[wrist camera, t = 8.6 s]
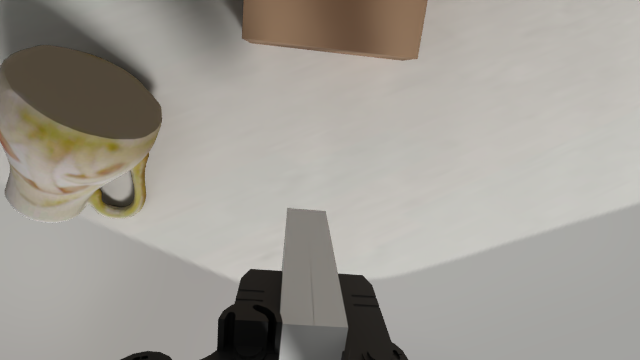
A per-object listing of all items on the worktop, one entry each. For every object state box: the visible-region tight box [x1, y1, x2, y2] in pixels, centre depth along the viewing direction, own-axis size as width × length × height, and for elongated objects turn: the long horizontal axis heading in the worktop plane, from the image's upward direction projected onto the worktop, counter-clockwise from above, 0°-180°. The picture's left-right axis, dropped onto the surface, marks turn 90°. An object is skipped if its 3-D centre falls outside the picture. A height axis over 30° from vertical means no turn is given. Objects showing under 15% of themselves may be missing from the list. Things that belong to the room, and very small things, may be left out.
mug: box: [0, 45, 162, 223], centre depth 20 cm, size 8×10×10 cm
